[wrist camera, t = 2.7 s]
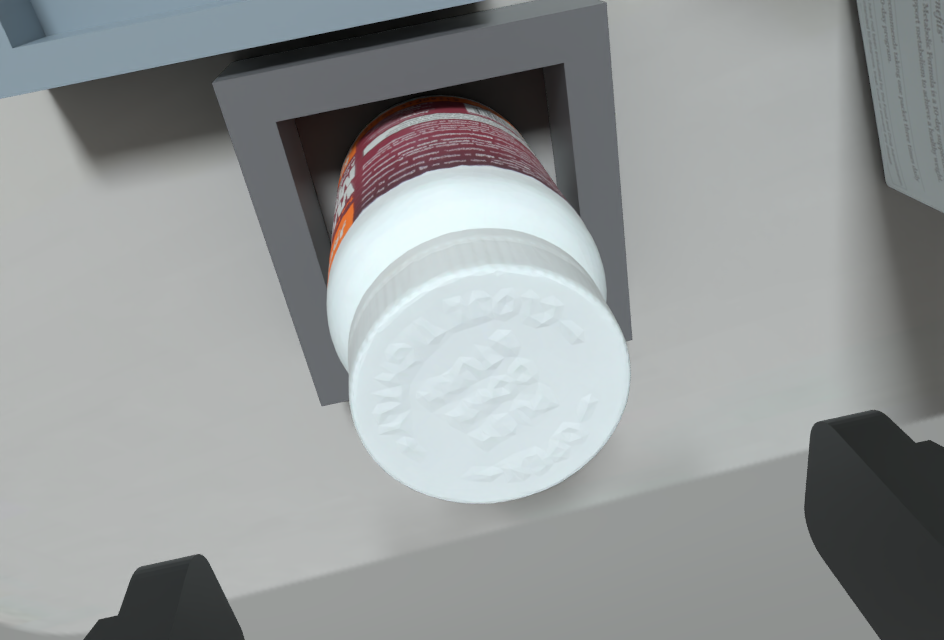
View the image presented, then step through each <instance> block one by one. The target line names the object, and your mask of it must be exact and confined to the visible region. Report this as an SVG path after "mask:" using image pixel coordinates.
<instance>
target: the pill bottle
mask: <svg viewBox="0 0 944 640" xmlns="http://www.w3.org/2000/svg"><path fill="white" fill-rule="evenodd" d="M606 300H607V289H606V279H605V273H604V268H603V264H602V261H601V257H600V254H599V252H598V249H597V246H596V244H595V242H594V240H593V238H592V236H591V234H590V233H589V231H588V229H587V228H586V226H585V224H584V222H583V220H582V219H581V217H580V216H579V215H578V213H577V212H576V211H575V209H574V208H573V207H572V206H571V205H570V204H569V202H568V201H567V200H566V198H565V197H564V196H563V194H562V193H561V192H560V190H559V189H558V187H557V186H556V184H555V183H554V182H553V180H552V179H551V178H550V176H549V175H548V173H547V172H546V170H545V169H544V167H543V166H542V165H541V163H540V161H539V160H538V159H537V157H536V155H535V154H534V152H533V151H532V150H531V149H530V147H529V146H528V144H527V143H526V141H525V140H524V138H523V137H522V136H521V134H520V133H519V132H518V131H517V130H516V128H515V127H514V126H513V125H512V124H511V123H510V122H509V121H508V120H507V119H505V118H504V117H503V116H502V115H500V114H499V113H497V112H496V111H494V110H493V109H491V108H489V107H487V106H485V105H483V104H481V103H479V102H476V101H474V100H470V99H467V98H463V97H458V96H449V95H430V96H422V97H417V98H413V99H410V100H406V101H404V102H401V103H398V104H396V105H394V106H392V107H390V108H389V109H387V110H385V111H383V112H382V113H380V114H379V115H378V116H377V117H375V118H374V119H373V120H372V121H371V122H370V123H369V124H368V125H367V126H366V127H365V128H364V129H363V130H362V131H361V132H360V134H359V135H358V136H357V138H356V139H355V141H354V142H353V144H352V145H351V147H350V149H349V151H348V153H347V155H346V157H345V160H344V163H343V166H342V169H341V174H340V179H339V184H338V190H337V197H336V204H335V212H334V222H333V231H332V241H331V251H330V257H329V271H328V284H327V317H328V326H329V330H330V335H331V339H332V341H333V344H334V347H335V350H336V352H337V355H338V357H339V359H340V361H341V363H342V364H343V366H344V367H345V369H346V371H347V372H348V374H349V404H350V410H351V415H352V419H353V423H354V425H355V428H356V431H357V433H358V435H359V437H360V440H361V442H362V444H363V445H364V447H365V449H366V450H367V452H368V453H369V455H370V456H371V457H372V458H373V459H374V461H375V462H376V463H377V464H378V465H379V466H380V467H381V468H382V469H383V470H384V471H385V472H386V473H387V474H389V475H390V476H391V477H393V478H394V479H396V480H397V481H399V482H400V483H402V484H404V485H406V486H407V487H409V488H411V489H413V490H415V491H417V492H420V493H423V494H425V495H428V496H431V497H435V498H438V499H441V500H447V501H452V502H458V503H467V504H485V503H497V502H505V501H510V500H515V499H519V498H523V497H526V496H530V495H532V494H535V493H538V492H541V491H543V490H546V489H548V488H550V487H552V486H555V485H557V484H559V483H560V482H562V481H564V480H565V479H567V478H568V477H570V476H571V475H573V474H574V473H575V472H577V471H578V470H579V469H581V468H582V467H583V466H584V465H585V464H587V463H588V462H589V461H590V460H591V459H592V458H593V457H594V456H595V455H596V454H597V453H598V452H599V451H600V450H601V448H602V447H603V446H604V445H605V443H606V442H607V441H608V439H609V438H610V436H611V435H612V433H613V432H614V430H615V428H616V427H617V425H618V423H619V421H620V419H621V417H622V414H623V412H624V409H625V406H626V403H627V400H628V394H629V388H630V376H631V371H630V359H629V353H628V349H627V345H626V341H625V338H624V336H623V333H622V331H621V329H620V327H619V324H618V323H617V321H616V319H615V317H614V315H613V313H612V311H611V310H610V308H609V307H608V305H607V304H606Z"/></svg>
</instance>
